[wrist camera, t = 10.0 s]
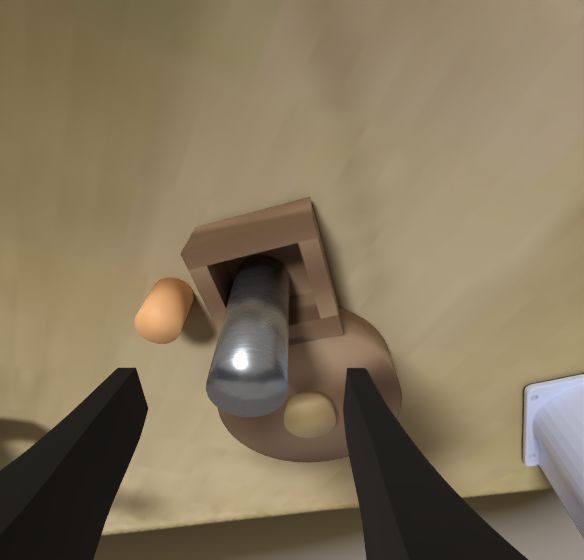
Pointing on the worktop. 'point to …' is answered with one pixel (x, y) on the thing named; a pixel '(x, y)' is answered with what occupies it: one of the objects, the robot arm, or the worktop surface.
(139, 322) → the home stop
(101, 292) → the worktop surface
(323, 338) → the wooden disc with frame
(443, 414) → the worktop surface
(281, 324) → the steel pin
